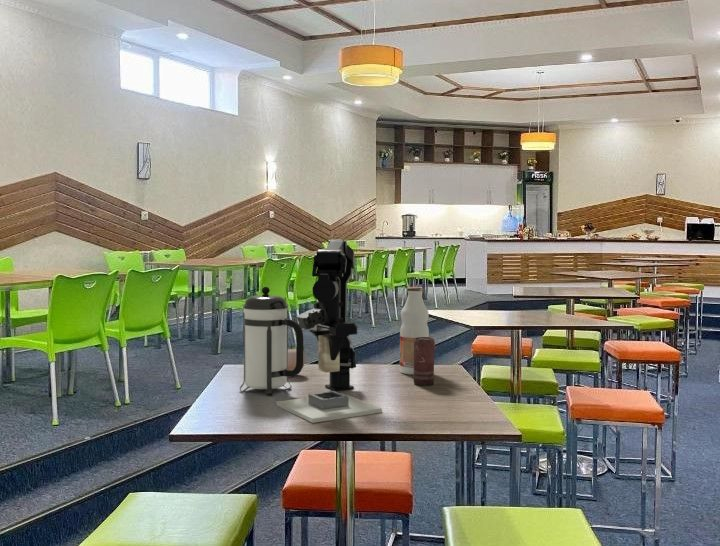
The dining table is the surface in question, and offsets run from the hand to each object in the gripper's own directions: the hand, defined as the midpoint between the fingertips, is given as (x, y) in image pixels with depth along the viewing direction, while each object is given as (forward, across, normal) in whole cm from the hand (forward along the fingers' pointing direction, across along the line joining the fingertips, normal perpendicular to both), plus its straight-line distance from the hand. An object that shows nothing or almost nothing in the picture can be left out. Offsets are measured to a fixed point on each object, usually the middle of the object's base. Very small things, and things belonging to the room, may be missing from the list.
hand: (328, 358), depth 182 cm
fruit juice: (+13, -28, +48) cm, 57 cm away
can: (+13, -12, +40) cm, 44 cm away
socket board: (+13, 0, 0) cm, 13 cm away
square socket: (+13, 0, 0) cm, 13 cm away
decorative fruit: (+13, -43, +11) cm, 46 cm away
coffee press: (+13, -27, -4) cm, 30 cm away
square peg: (+3, 0, 0) cm, 3 cm away
